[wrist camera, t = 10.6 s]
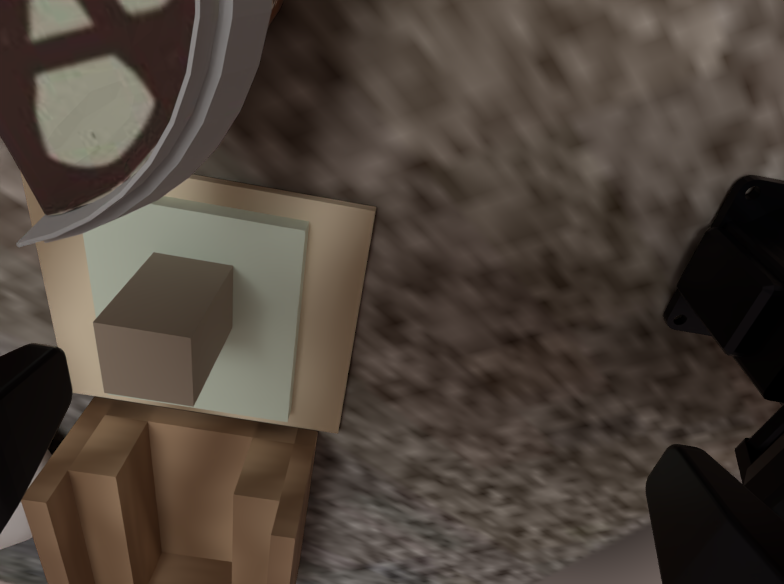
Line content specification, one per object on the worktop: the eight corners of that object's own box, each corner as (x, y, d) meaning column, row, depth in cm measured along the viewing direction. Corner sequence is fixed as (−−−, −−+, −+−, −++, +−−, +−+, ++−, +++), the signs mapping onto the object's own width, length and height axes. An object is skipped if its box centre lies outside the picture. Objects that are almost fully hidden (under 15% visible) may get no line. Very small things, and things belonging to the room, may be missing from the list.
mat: (376, 206, 20) (375, 211, 20) (338, 427, 27) (337, 433, 26) (22, 143, 20) (15, 147, 19) (72, 385, 26) (67, 391, 26)
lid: (309, 221, 20) (277, 299, 16) (290, 409, 26) (263, 507, 21) (87, 182, 20) (-9, 251, 15) (116, 382, 25) (51, 476, 21)
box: (318, 431, 27) (295, 538, 22) (299, 564, 33) (278, 670, 29) (94, 396, 26) (20, 499, 22) (119, 538, 33) (67, 642, 28)
